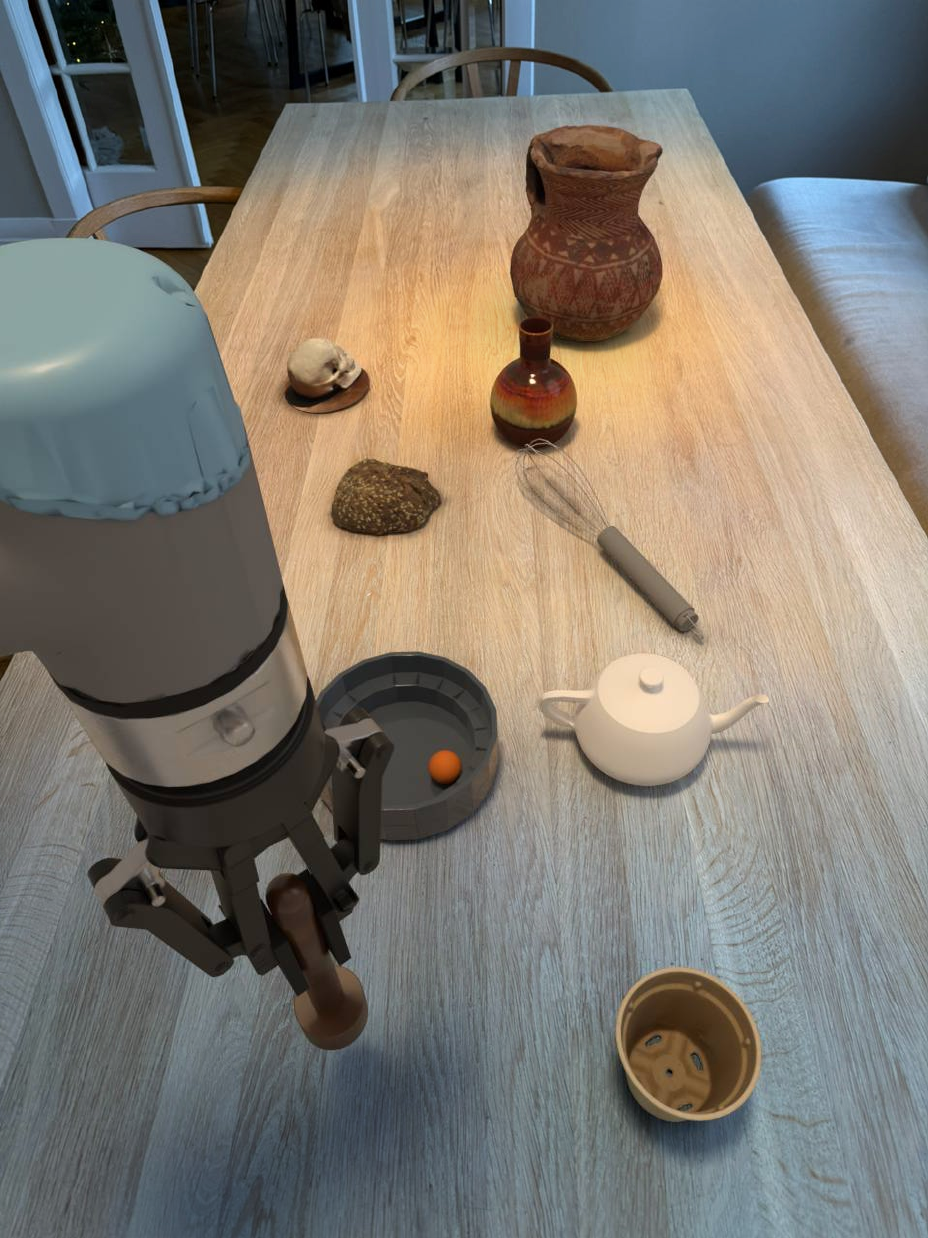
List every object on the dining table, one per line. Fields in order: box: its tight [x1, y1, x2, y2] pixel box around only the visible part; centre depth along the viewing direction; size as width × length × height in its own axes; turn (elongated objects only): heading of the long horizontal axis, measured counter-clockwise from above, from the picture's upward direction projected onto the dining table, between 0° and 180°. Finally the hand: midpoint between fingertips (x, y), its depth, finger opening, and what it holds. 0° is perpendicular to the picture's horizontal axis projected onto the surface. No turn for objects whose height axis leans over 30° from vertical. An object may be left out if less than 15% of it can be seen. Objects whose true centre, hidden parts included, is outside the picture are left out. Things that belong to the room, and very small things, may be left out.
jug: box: [509, 124, 664, 342], centre depth 125 cm, size 22×21×25 cm
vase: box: [489, 316, 578, 450], centre depth 111 cm, size 11×11×15 cm
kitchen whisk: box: [514, 439, 705, 640], centre depth 99 cm, size 6×34×6 cm, turn 30°
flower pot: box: [615, 966, 763, 1123], centre depth 61 cm, size 9×9×9 cm
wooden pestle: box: [264, 872, 369, 1051], centre depth 49 cm, size 4×4×21 cm
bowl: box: [315, 650, 499, 841], centre depth 81 cm, size 17×17×6 cm
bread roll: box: [330, 457, 442, 536], centre depth 106 cm, size 13×12×5 cm
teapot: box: [539, 652, 770, 787], centre depth 80 cm, size 20×12×10 cm, turn 85°
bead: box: [429, 750, 462, 784], centre depth 80 cm, size 3×3×3 cm
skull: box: [283, 337, 370, 414], centre depth 123 cm, size 12×10×10 cm
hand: (312, 957), depth 48 cm, fingers closed on wooden pestle, 2 cm apart
